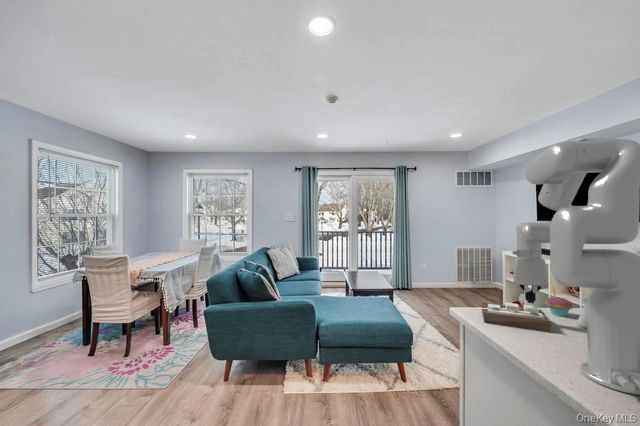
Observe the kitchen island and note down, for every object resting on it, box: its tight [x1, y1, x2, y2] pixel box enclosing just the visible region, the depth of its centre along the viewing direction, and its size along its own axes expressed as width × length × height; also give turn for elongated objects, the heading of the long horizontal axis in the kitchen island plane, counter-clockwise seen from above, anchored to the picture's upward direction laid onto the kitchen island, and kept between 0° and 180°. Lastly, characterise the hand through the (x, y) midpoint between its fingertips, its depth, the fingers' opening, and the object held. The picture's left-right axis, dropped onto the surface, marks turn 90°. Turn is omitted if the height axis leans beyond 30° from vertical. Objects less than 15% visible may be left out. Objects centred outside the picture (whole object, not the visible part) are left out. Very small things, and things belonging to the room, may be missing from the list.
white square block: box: [488, 303, 500, 308], centre depth 109 cm, size 4×4×3 cm
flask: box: [576, 298, 588, 329], centre depth 99 cm, size 7×7×10 cm
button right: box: [523, 304, 539, 313], centre depth 103 cm, size 4×4×3 cm
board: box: [481, 302, 552, 333], centre depth 105 cm, size 14×20×5 cm
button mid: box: [504, 302, 520, 311], centre depth 106 cm, size 4×4×3 cm
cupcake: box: [545, 285, 574, 317], centre depth 112 cm, size 9×8×12 cm
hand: (530, 302), depth 104 cm, fingers closed
